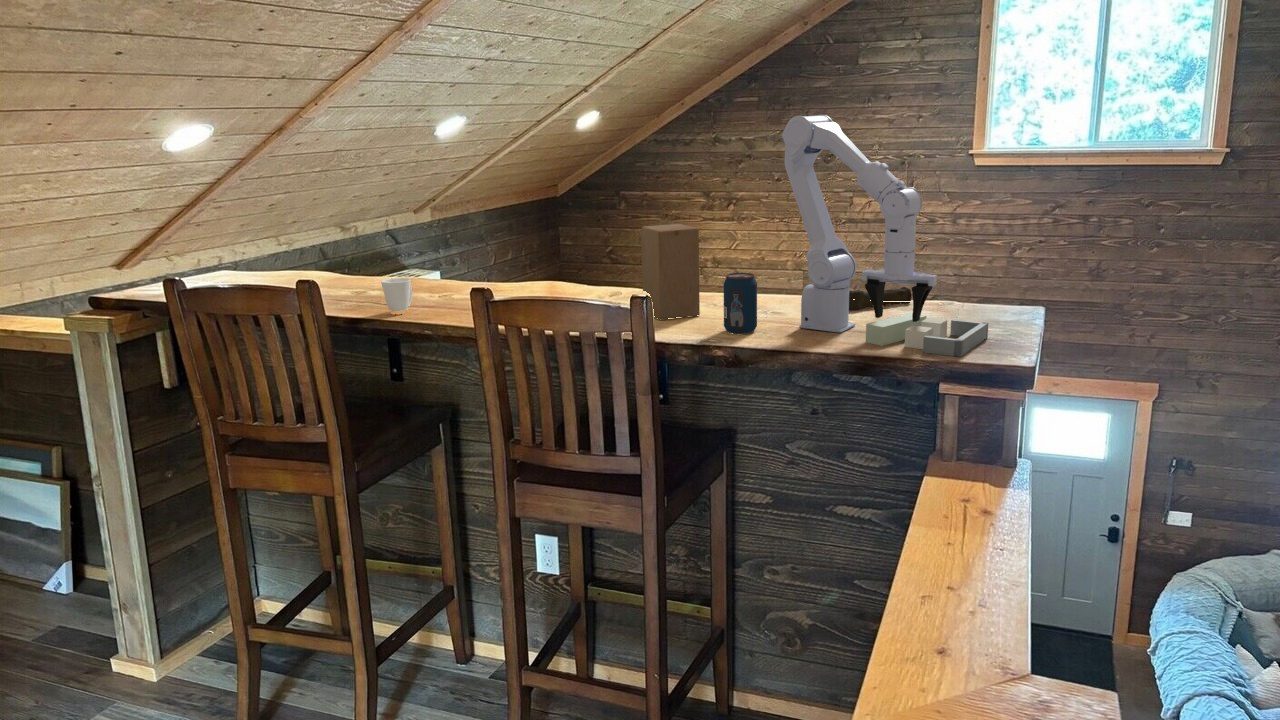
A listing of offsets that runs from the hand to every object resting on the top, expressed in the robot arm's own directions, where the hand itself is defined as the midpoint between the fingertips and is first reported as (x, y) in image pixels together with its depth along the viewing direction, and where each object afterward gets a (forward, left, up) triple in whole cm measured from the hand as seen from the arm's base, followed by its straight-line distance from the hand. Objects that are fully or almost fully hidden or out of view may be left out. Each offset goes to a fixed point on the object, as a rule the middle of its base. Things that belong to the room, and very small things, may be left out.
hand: (897, 318), depth 191 cm
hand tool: (-15, +26, -4) cm, 30 cm away
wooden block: (-52, -3, -4) cm, 52 cm away
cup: (-111, -31, -4) cm, 115 cm away
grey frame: (+12, 0, -4) cm, 13 cm away
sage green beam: (0, 0, -4) cm, 4 cm away
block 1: (+6, -4, -4) cm, 8 cm away
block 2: (+6, +4, -4) cm, 8 cm away
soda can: (-30, -10, -4) cm, 32 cm away
